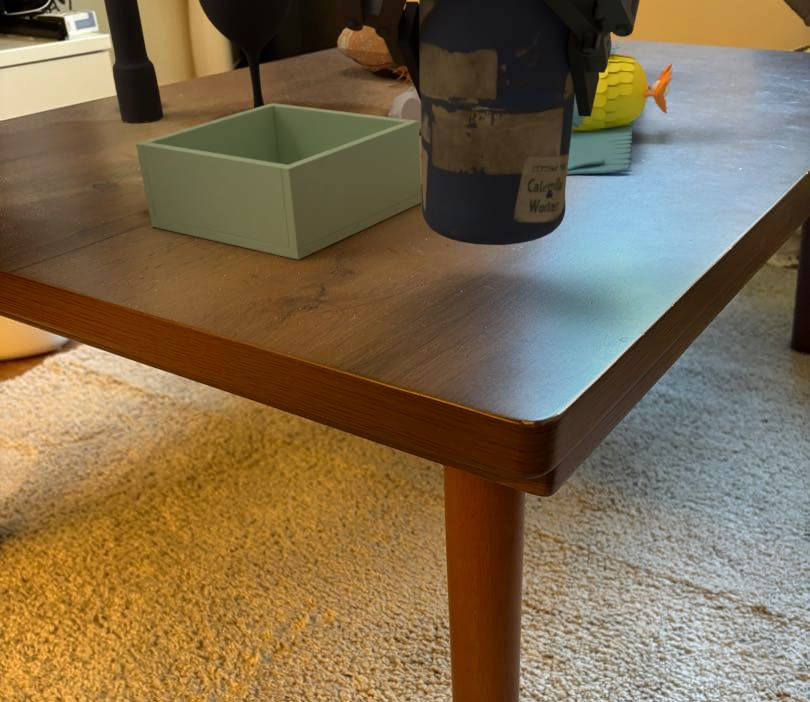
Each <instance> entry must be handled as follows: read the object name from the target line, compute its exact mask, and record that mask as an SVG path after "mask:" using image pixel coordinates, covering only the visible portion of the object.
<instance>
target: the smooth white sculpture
mask: <svg viewBox="0 0 810 702" xmlns="http://www.w3.org/2000/svg"><path fill="white" fill-rule="evenodd" d="M387 117H390V118H399V119H407V120H415V121H419V134H421V101H420V98H419V96H418V93H417V91H416V89H415V87H413V86H410V87H409V88H407V90H406V91H404V92H401V93H400V94H399V95H397V96H396V97H394V99H393V100H392V104H391V109H390V110H389V112H388V114H387Z"/></svg>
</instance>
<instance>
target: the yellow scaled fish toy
mask: <svg viewBox="0 0 810 702" xmlns="http://www.w3.org/2000/svg"><path fill="white" fill-rule="evenodd" d="M619 49H621V46H616V45H614V46H612V47H611V51H610V56H609V60H608V65H607V68H606V70H605V72H604V73H599V81H598V85H597V90H596V94H595V99H594V104H593V108H592V113H591V117H589V116H579V115H578V109H577V103H576V97H575V98H574V110H573V121H572V132H571V141H570V151H569V161H568V169H567V175H583V176H584V175H585V176H591V175H590V174H595V175H596V174H607V173H615V172H623V171H626V170H628V169H629V168H630V164H631V162H632V161H631V159H630V158H631V157H632V154H630V153H632V149H631V148H632V142H633V141H632V140H633V136H632V135H633V127H634V125H633V123H634V121H635V120H636V119H638V117H640V116H641V115H642V113H643V111H644V109H645V106H646V103H647V100H648V98H649V97H651V98H653V99H654V101H655V104H656V105H657V107H658V108H659V110H661V112H663V113H664V114H668V111H667V110H668V107H667V100H666V97H667V96H669V93H670V85H669V83H670V82H671V81H672V79H673V75H672V73H673V69H672V66H673V62H672V63H669V64H668V65H666V67H665V68H664V69H663V70H662V71H661V72H660V75H659V76H658V78H657V80H656V81H654V83H653V84H652V85H649V83H648V78H647V76H646V72H645V70H644V67H643V65H641V63H640V62H639V61H637V60H636V58H635V57H633V56H630V55H624V54H621V53H617V50H619Z"/></svg>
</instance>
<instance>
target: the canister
mask: <svg viewBox="0 0 810 702" xmlns="http://www.w3.org/2000/svg"><path fill="white" fill-rule="evenodd" d="M418 2H419V45H420V94H421V133H420V148H421V149H420V151H421V152H420V153H421V154H420V163H421V210H422V217H423V219H424V221H425V223H426V225H427V226H428V227H429V228H430V229H431V231H432V232H434V233H436V234H438V235H440V236H441V237H444V238H445V239H446V238H447V239H449V240H452V241H456V242H458V243H459V242H461V243H465V244H472V245H482V246H483V245H485V246H507V245H517V244H524V243H528V242H533V241H535V240H539V239H541V238H544V237H546V236H548V235H551V234H552V233H554V231H555V230H557V229H558V227H559V226H560V225H561V224H562V222H563V220H564V218H565V214H566V188H567V187H566V186H567V185H566V184H567V169H568V161H569V151H570V141H571V133H572V131H573V130H572V121H573V110H574V98H575V91H574V85H573V79H572V73H571V67H570V61H569V55H568V49H567V46H568V41H569V37H570V33H571V29H570V28H569V27H568V26H567V25H566V24H565V23H564V22H563V21H562V20H561V19H560V18H559V16H558V15H557V14H556V13H555V12H554V11H553V10H552V9H551V8H550V7H549V6H548V5H547V4H546V3H545V1H544V0H418Z"/></svg>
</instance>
